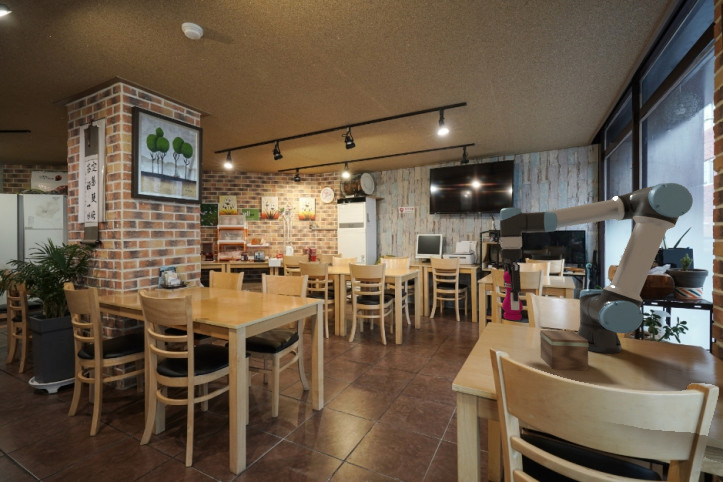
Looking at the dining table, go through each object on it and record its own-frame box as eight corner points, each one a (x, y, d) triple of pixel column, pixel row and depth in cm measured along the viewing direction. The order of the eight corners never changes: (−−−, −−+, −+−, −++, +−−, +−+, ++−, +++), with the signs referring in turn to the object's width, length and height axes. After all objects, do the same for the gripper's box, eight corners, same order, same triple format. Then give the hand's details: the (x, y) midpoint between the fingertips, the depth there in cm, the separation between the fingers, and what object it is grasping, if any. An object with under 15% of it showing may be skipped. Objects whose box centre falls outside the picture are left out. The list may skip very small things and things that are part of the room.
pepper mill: (525, 320, 123) (524, 267, 123) (504, 320, 125) (503, 267, 125) (520, 316, 131) (518, 265, 130) (500, 315, 132) (499, 265, 132)
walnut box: (573, 358, 121) (573, 331, 120) (588, 370, 110) (588, 340, 109) (540, 356, 123) (540, 330, 122) (551, 368, 112) (551, 339, 111)
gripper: (495, 247, 138) (496, 302, 138) (507, 249, 118) (508, 313, 118) (514, 247, 137) (515, 302, 137) (529, 248, 117) (531, 313, 117)
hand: (512, 307), depth 128 cm, fingers closed on pepper mill, 7 cm apart
